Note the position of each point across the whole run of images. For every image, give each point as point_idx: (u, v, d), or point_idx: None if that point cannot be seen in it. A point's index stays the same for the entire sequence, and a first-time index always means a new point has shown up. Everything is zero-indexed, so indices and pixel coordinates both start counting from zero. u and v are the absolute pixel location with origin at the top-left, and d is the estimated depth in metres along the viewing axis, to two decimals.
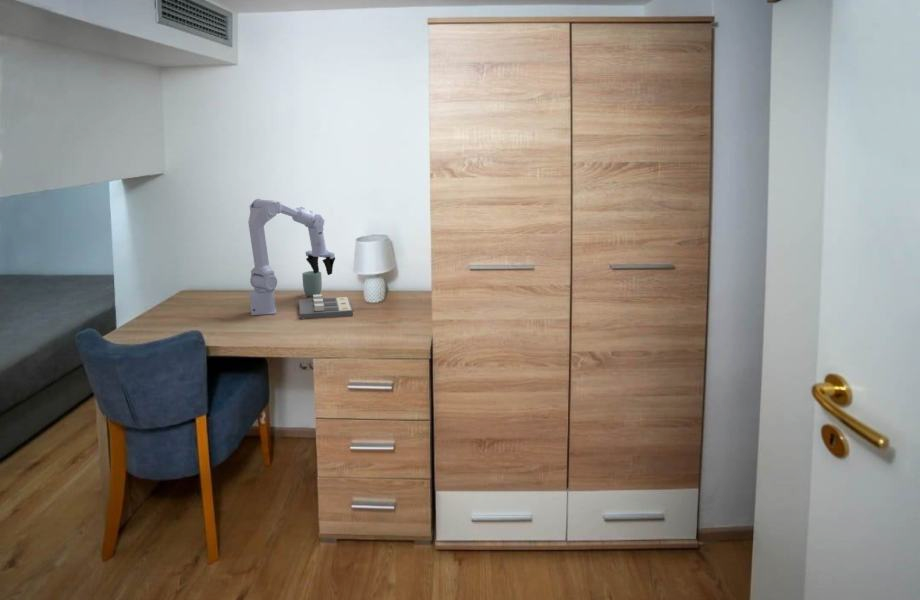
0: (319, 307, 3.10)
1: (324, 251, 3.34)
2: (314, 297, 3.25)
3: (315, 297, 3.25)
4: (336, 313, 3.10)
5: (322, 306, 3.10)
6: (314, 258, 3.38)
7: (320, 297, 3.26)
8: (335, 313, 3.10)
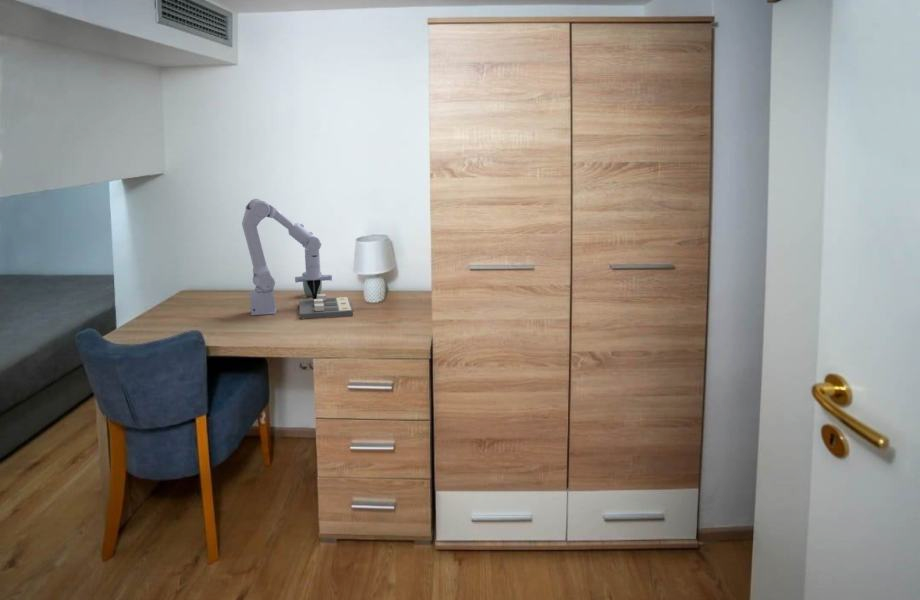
0: (319, 307, 3.10)
1: (320, 274, 3.25)
2: (318, 297, 3.25)
3: (319, 297, 3.26)
4: (336, 313, 3.10)
5: (322, 306, 3.10)
6: None
7: (324, 297, 3.26)
8: (335, 313, 3.10)
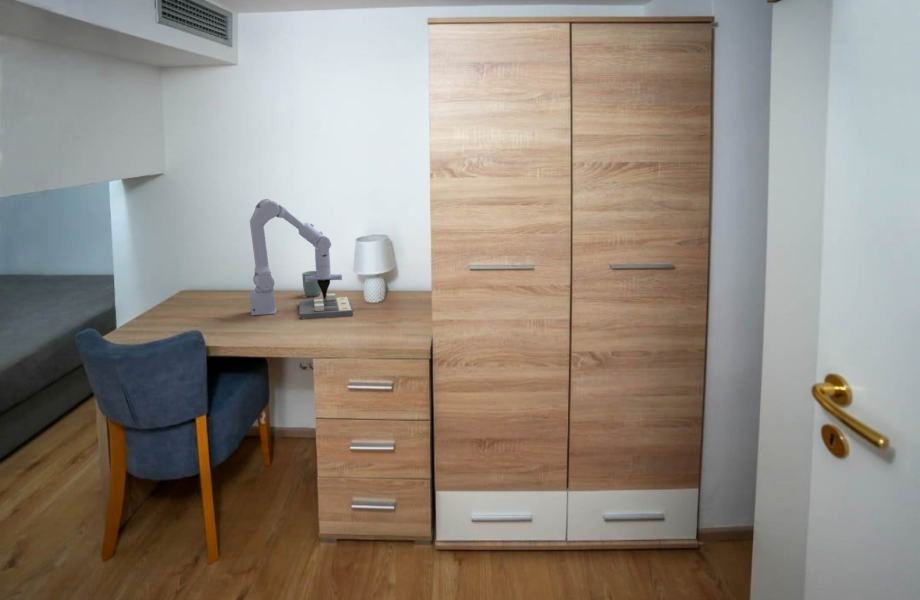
0: (319, 307, 3.10)
1: (330, 273, 3.26)
2: (327, 296, 3.26)
3: (328, 296, 3.26)
4: (336, 313, 3.10)
5: (322, 306, 3.10)
6: None
7: (333, 296, 3.27)
8: (335, 313, 3.10)
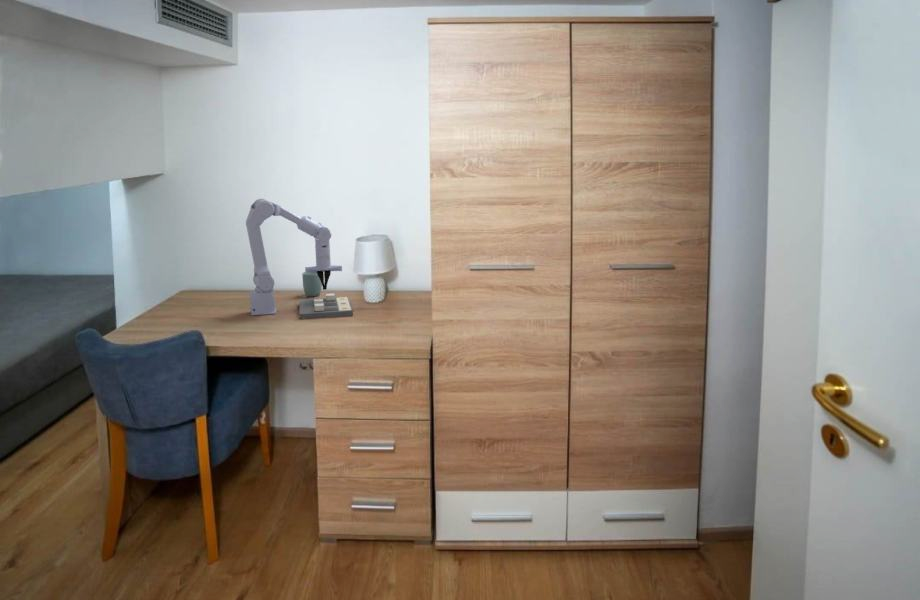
0: (319, 307, 3.10)
1: (330, 264, 3.25)
2: (327, 296, 3.26)
3: (328, 296, 3.26)
4: (336, 313, 3.10)
5: (322, 306, 3.10)
6: (323, 274, 3.26)
7: (333, 296, 3.27)
8: (335, 313, 3.10)
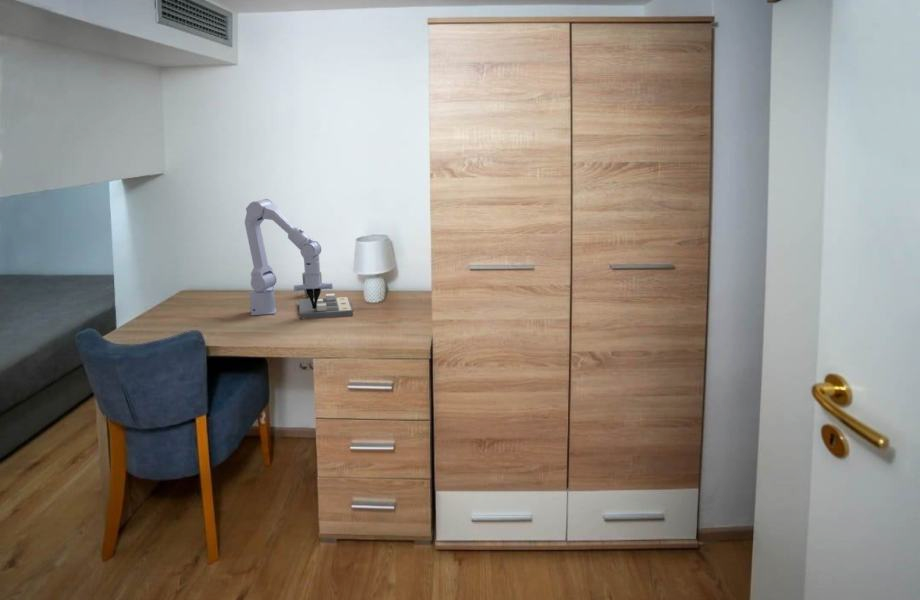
0: (321, 307, 3.10)
1: (320, 282, 3.10)
2: (327, 296, 3.26)
3: (328, 296, 3.26)
4: (336, 313, 3.10)
5: (324, 306, 3.11)
6: None
7: (333, 296, 3.27)
8: (335, 313, 3.10)
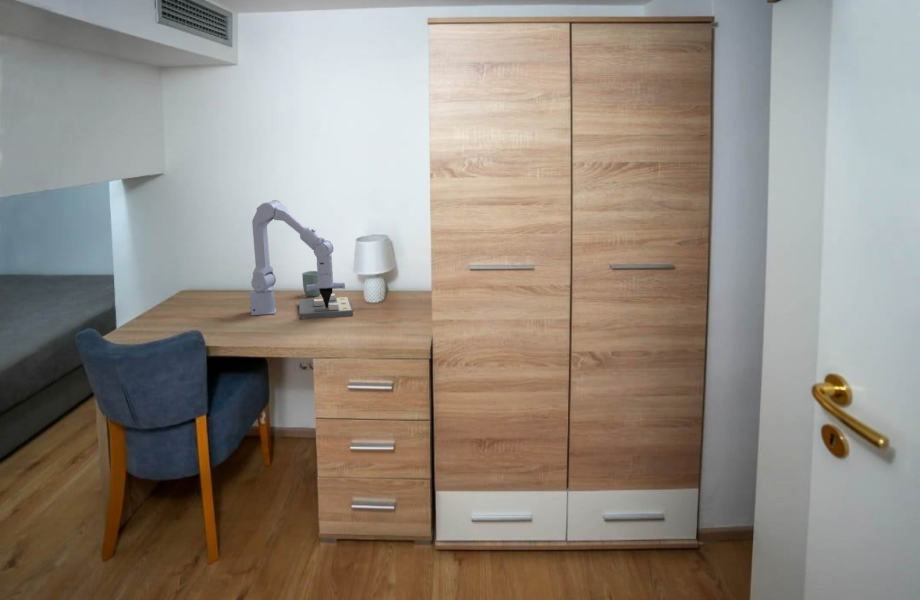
0: (333, 306, 3.11)
1: (332, 282, 3.11)
2: None
3: None
4: (336, 313, 3.10)
5: (336, 305, 3.11)
6: None
7: (333, 296, 3.27)
8: (335, 313, 3.10)
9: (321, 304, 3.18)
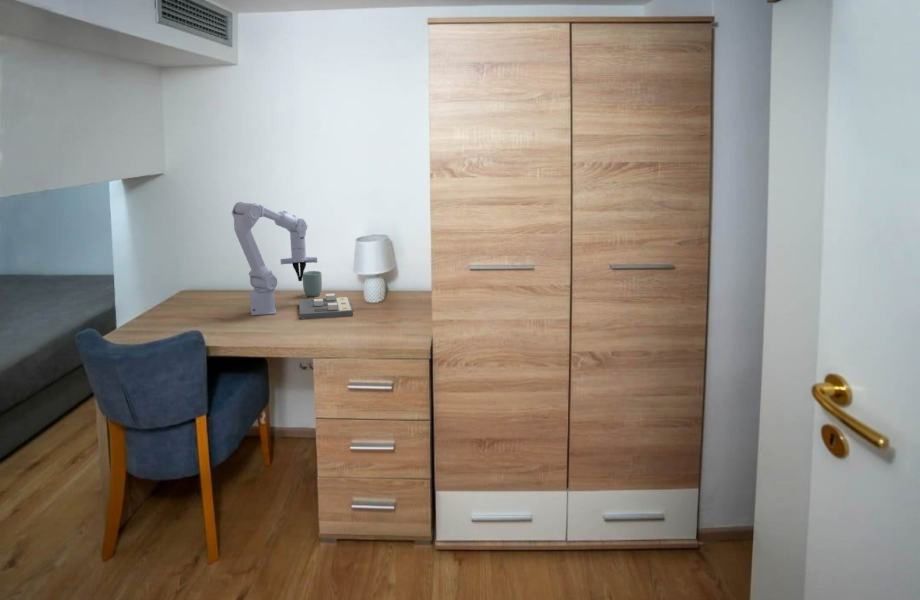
0: (332, 306, 3.11)
1: (305, 256, 3.28)
2: (327, 296, 3.26)
3: (328, 296, 3.26)
4: (336, 313, 3.10)
5: (335, 305, 3.11)
6: (298, 265, 3.29)
7: (333, 296, 3.27)
8: (335, 313, 3.10)
9: (321, 304, 3.18)
